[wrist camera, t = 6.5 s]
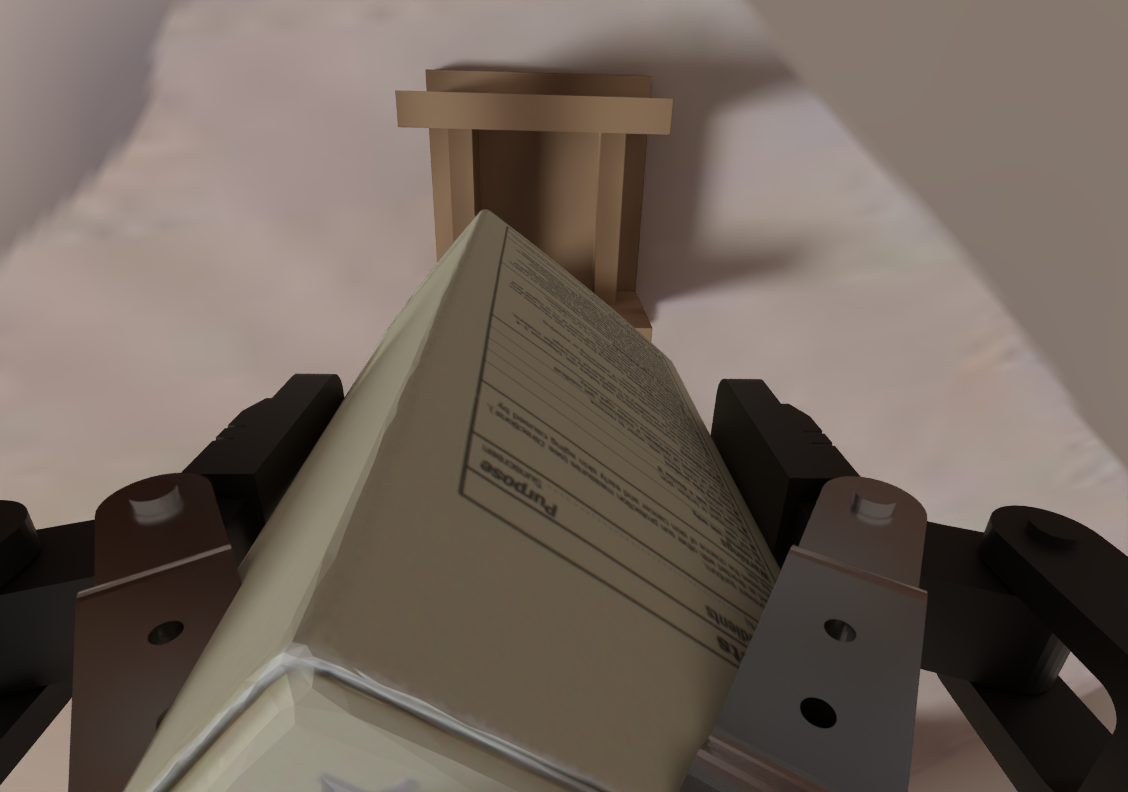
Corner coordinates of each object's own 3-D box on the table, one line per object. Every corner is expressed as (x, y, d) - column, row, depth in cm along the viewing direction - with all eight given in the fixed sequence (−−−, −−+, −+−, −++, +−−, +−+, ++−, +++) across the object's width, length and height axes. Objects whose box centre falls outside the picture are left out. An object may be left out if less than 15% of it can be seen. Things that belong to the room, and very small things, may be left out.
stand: (648, 77, 28) (676, 65, 22) (630, 327, 33) (647, 377, 27) (429, 71, 28) (392, 56, 21) (444, 323, 33) (417, 373, 26)
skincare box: (377, 339, 15) (-108, 1005, 4) (486, 198, 14) (216, 605, 3) (575, 481, 17) (627, 1197, 6) (688, 370, 15) (1037, 1030, 4)
